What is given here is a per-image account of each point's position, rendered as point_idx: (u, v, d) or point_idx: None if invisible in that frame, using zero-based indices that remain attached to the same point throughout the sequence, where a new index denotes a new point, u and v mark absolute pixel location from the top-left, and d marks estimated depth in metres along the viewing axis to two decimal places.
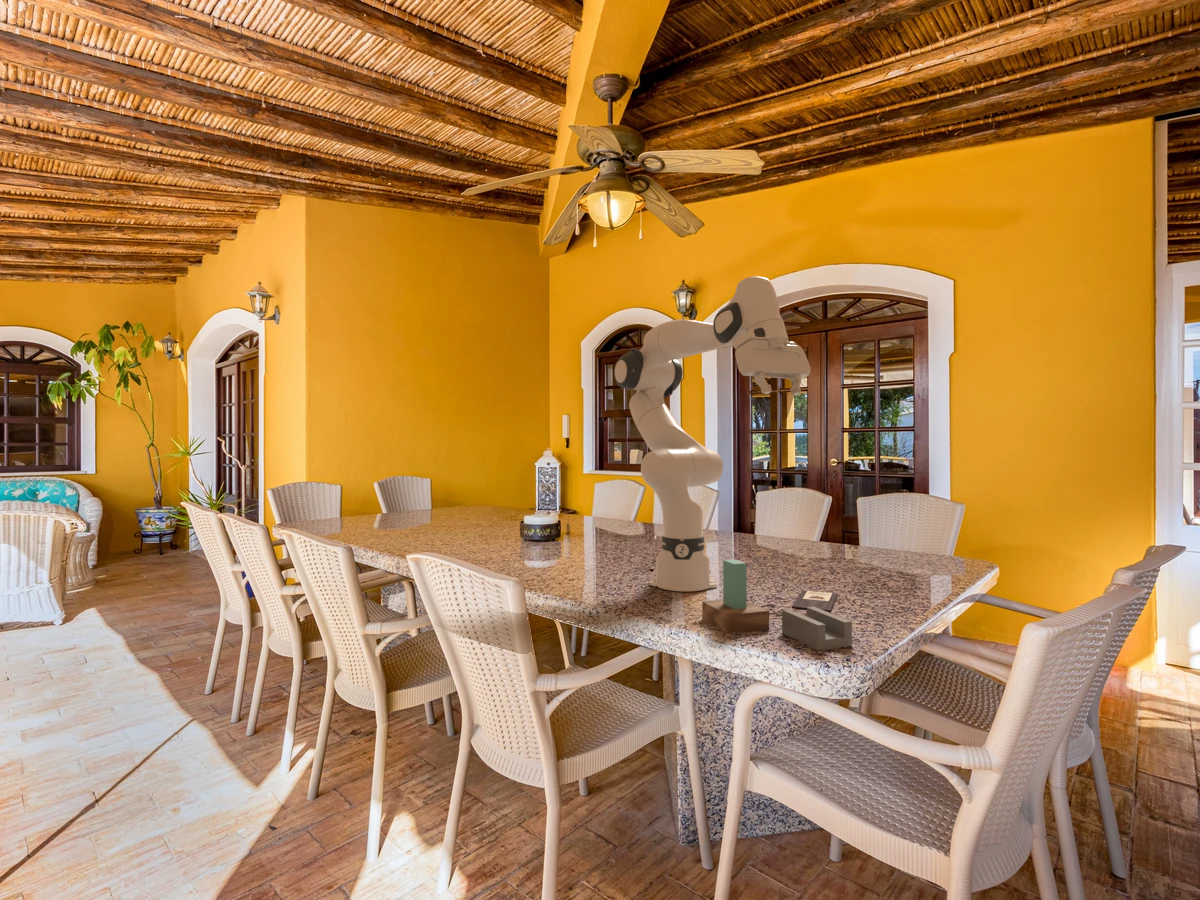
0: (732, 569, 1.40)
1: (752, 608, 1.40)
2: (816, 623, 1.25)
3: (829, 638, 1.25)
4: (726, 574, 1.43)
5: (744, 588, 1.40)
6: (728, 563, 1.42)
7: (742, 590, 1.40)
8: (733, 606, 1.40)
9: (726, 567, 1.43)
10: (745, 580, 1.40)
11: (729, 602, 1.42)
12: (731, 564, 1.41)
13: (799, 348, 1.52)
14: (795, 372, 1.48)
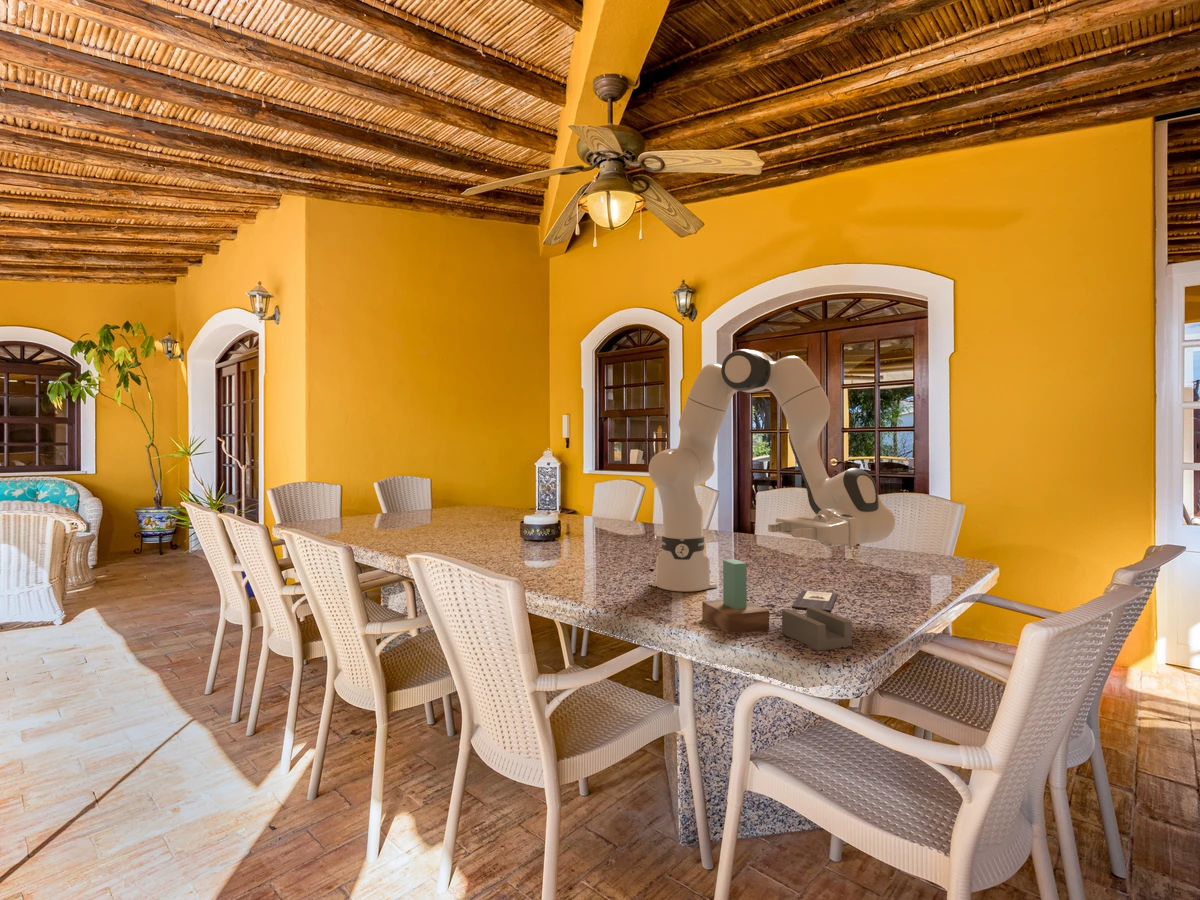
0: (732, 569, 1.40)
1: (752, 608, 1.40)
2: (816, 623, 1.25)
3: (829, 638, 1.25)
4: (726, 574, 1.43)
5: (744, 588, 1.40)
6: (728, 563, 1.42)
7: (742, 590, 1.40)
8: (733, 606, 1.40)
9: (726, 567, 1.43)
10: (745, 580, 1.40)
11: (729, 602, 1.42)
12: (731, 564, 1.41)
13: None
14: (788, 534, 1.52)
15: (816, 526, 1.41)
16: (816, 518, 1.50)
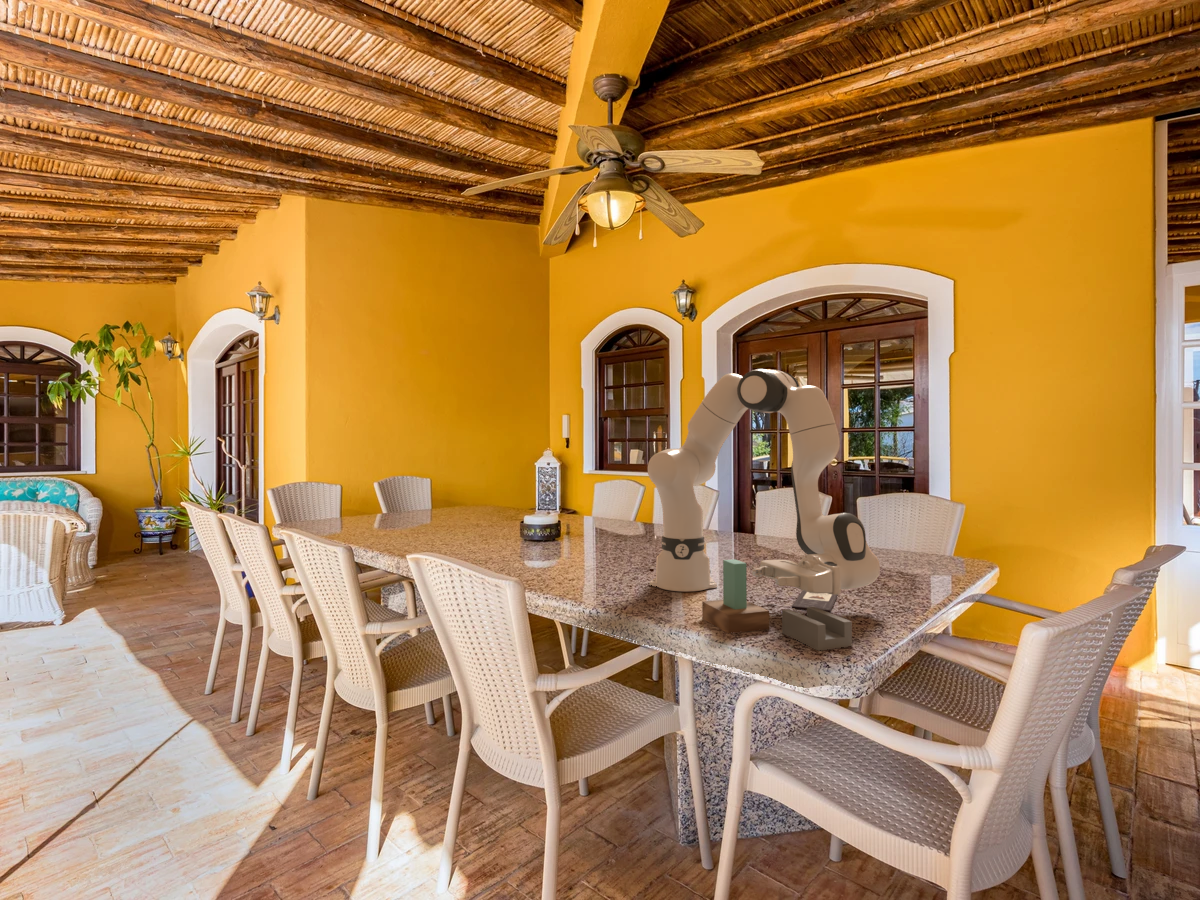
0: (732, 569, 1.40)
1: (752, 608, 1.40)
2: (816, 623, 1.25)
3: (829, 638, 1.25)
4: (726, 574, 1.43)
5: (744, 588, 1.40)
6: (728, 563, 1.42)
7: (742, 590, 1.40)
8: (733, 606, 1.40)
9: (726, 567, 1.43)
10: (745, 580, 1.40)
11: (729, 602, 1.42)
12: (731, 564, 1.41)
13: None
14: (772, 578, 1.51)
15: (800, 575, 1.40)
16: (800, 563, 1.49)
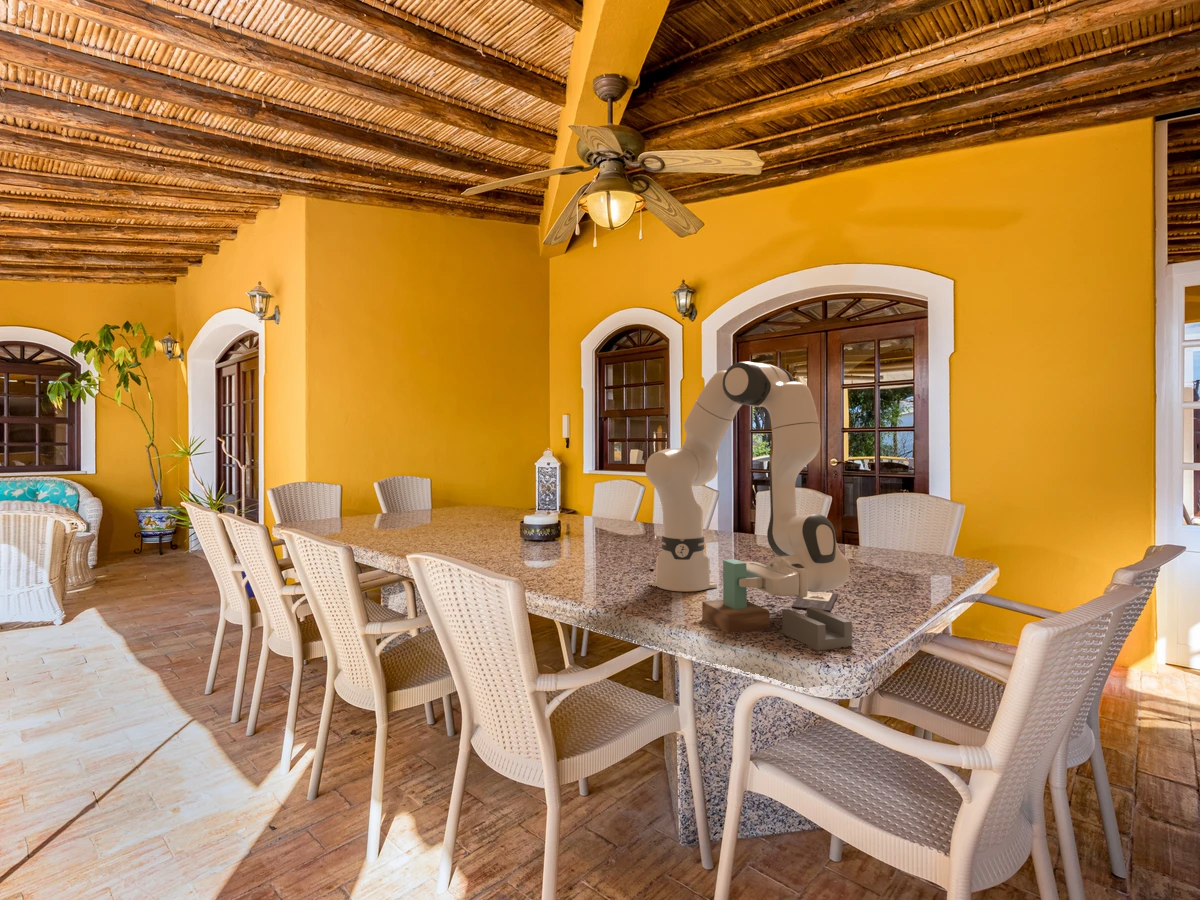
0: (732, 569, 1.40)
1: (752, 608, 1.40)
2: (816, 623, 1.25)
3: (829, 638, 1.25)
4: (725, 574, 1.43)
5: (744, 588, 1.40)
6: (728, 563, 1.42)
7: (742, 590, 1.40)
8: (733, 606, 1.40)
9: (726, 567, 1.43)
10: None
11: (729, 602, 1.42)
12: (731, 564, 1.41)
13: None
14: None
15: (766, 577, 1.37)
16: (768, 566, 1.46)
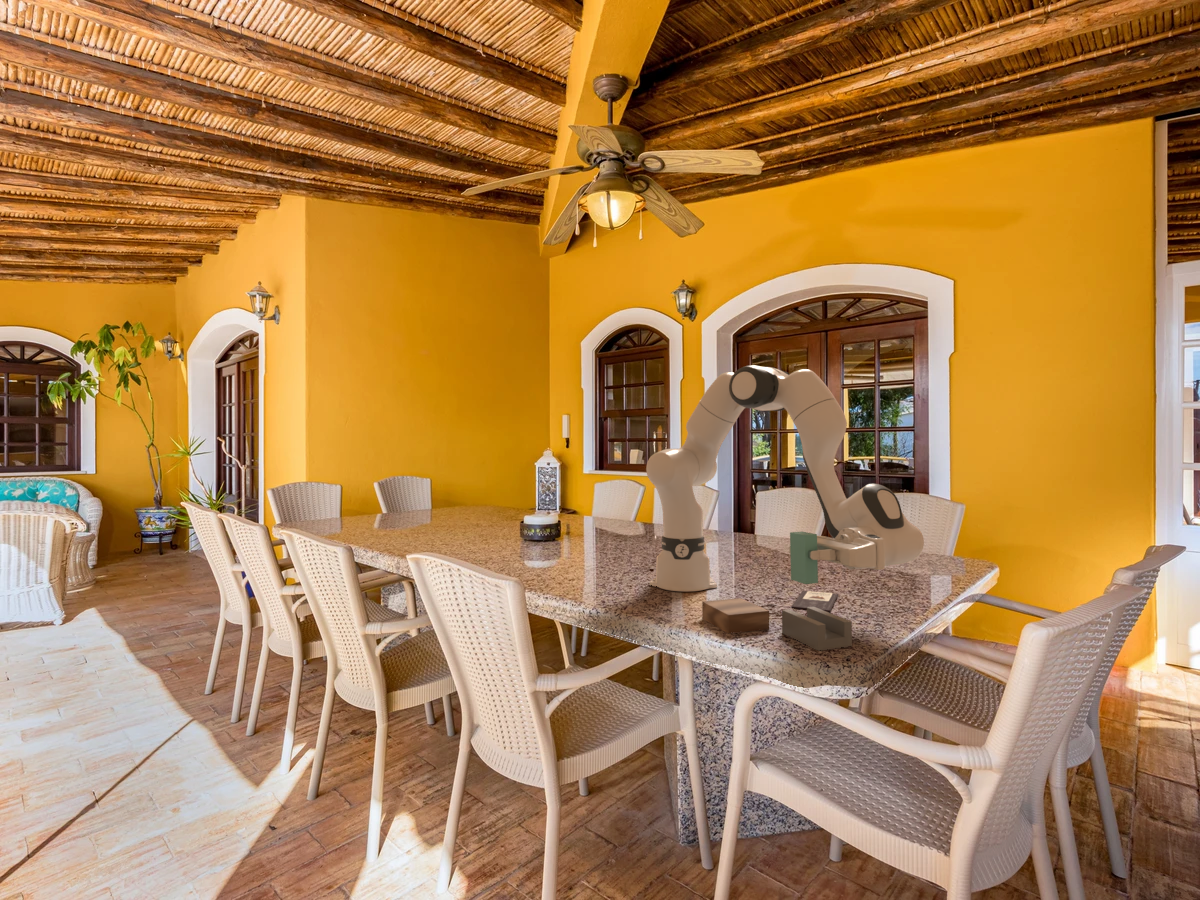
0: (802, 541, 1.30)
1: (752, 608, 1.40)
2: (816, 623, 1.25)
3: (829, 638, 1.25)
4: (793, 547, 1.33)
5: (815, 561, 1.30)
6: (796, 535, 1.32)
7: (813, 563, 1.30)
8: (804, 581, 1.30)
9: (794, 539, 1.33)
10: None
11: (799, 577, 1.31)
12: (800, 536, 1.31)
13: None
14: None
15: (840, 548, 1.27)
16: (838, 538, 1.36)
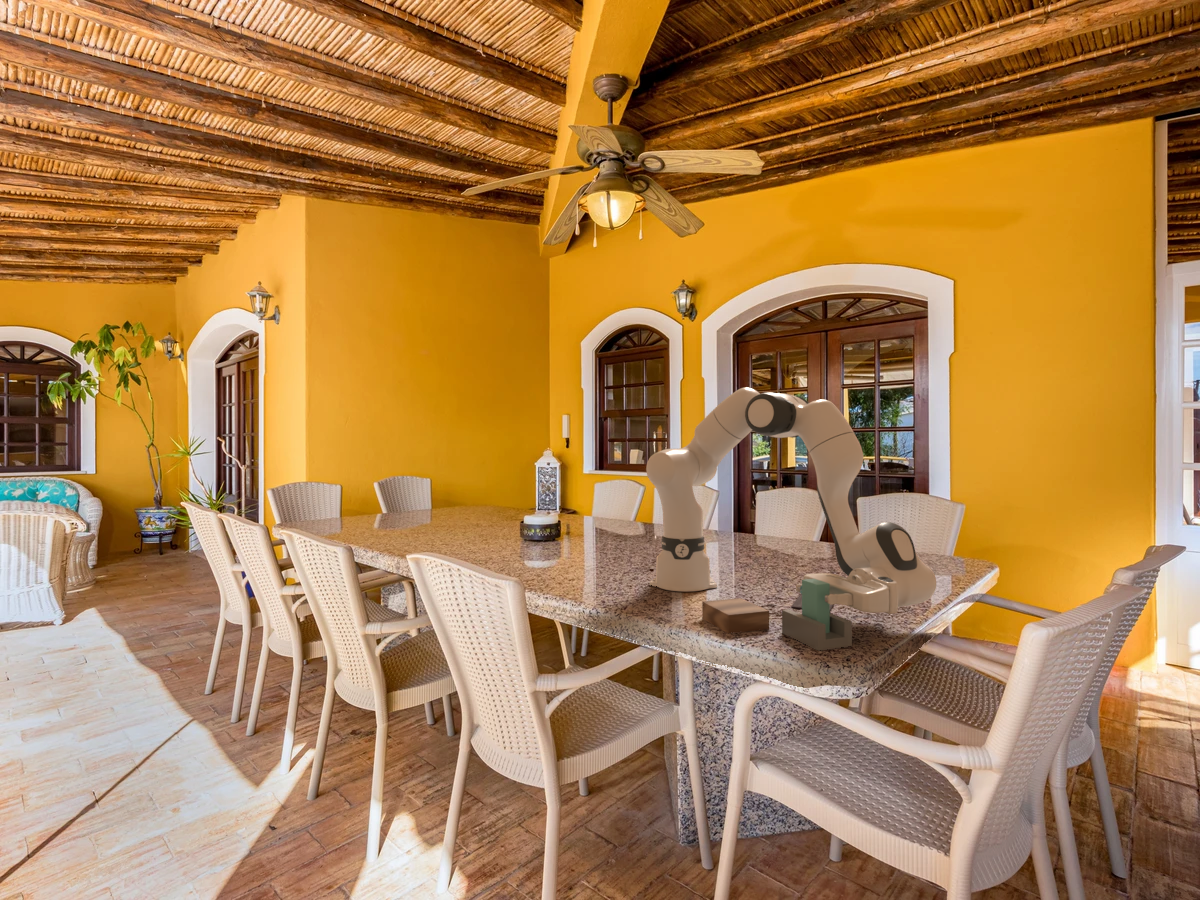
0: (814, 590, 1.29)
1: (752, 608, 1.40)
2: (816, 623, 1.25)
3: (829, 638, 1.25)
4: (805, 595, 1.31)
5: (827, 611, 1.29)
6: (809, 583, 1.30)
7: (825, 613, 1.29)
8: None
9: (806, 587, 1.31)
10: None
11: None
12: (813, 584, 1.29)
13: None
14: None
15: (853, 592, 1.26)
16: (850, 578, 1.35)
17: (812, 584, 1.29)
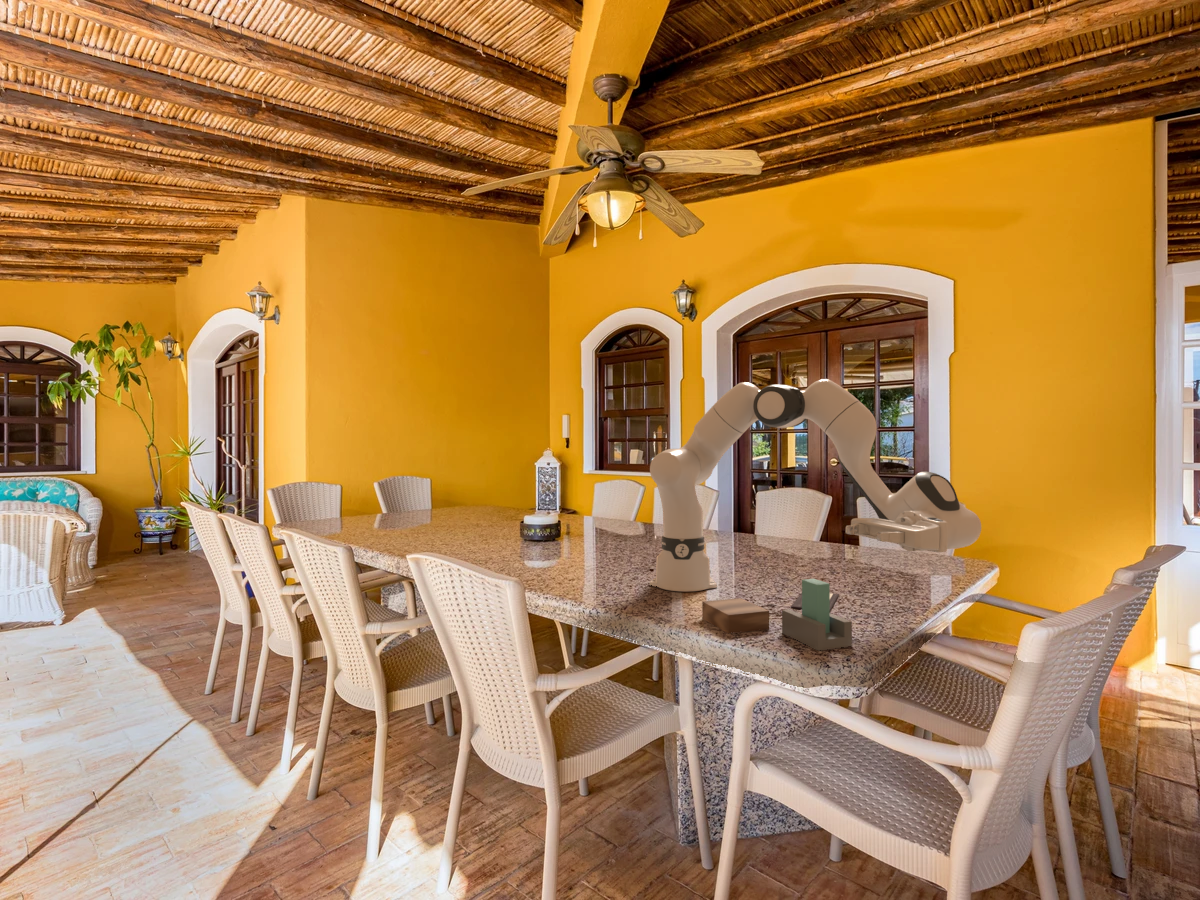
0: (814, 590, 1.29)
1: (752, 608, 1.40)
2: (816, 623, 1.25)
3: (829, 638, 1.25)
4: (805, 595, 1.31)
5: (827, 611, 1.29)
6: (809, 583, 1.30)
7: (825, 613, 1.29)
8: None
9: (806, 587, 1.31)
10: (828, 601, 1.29)
11: None
12: (813, 584, 1.29)
13: None
14: (866, 536, 1.40)
15: (904, 530, 1.30)
16: (898, 520, 1.39)
17: (812, 584, 1.29)
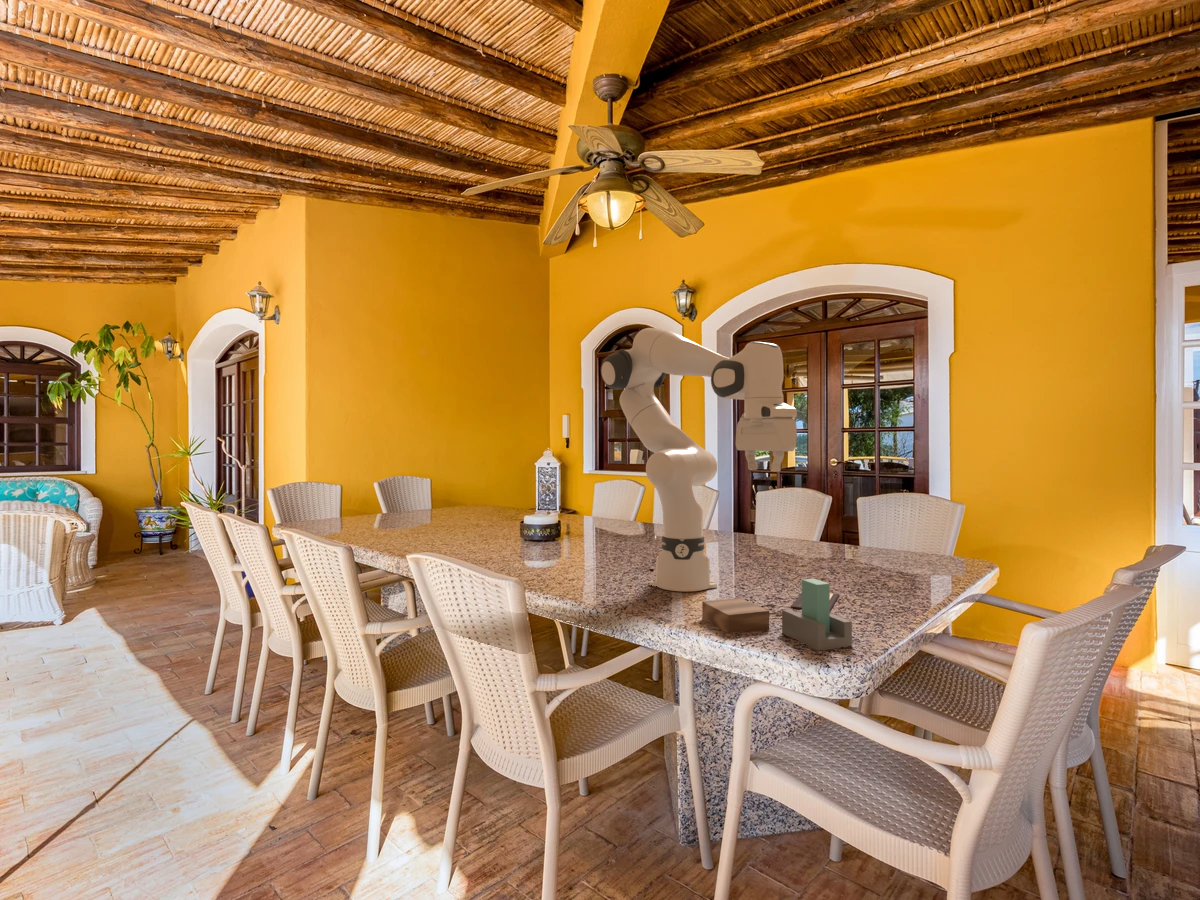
0: (814, 590, 1.29)
1: (752, 608, 1.40)
2: (816, 623, 1.25)
3: (829, 638, 1.25)
4: (805, 595, 1.31)
5: (827, 611, 1.29)
6: (809, 583, 1.30)
7: (825, 613, 1.29)
8: None
9: (806, 587, 1.31)
10: (828, 601, 1.29)
11: None
12: (813, 584, 1.29)
13: None
14: None
15: (774, 450, 1.41)
16: (753, 425, 1.48)
17: (812, 584, 1.29)
